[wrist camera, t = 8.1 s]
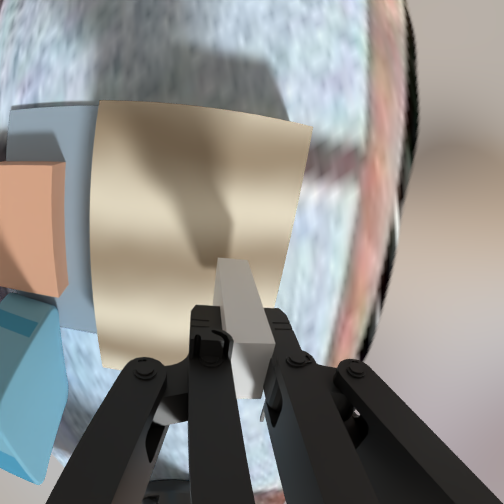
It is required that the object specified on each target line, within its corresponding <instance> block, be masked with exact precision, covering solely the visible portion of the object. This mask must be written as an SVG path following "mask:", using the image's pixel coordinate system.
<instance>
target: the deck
mask: <svg viewBox="0 0 504 504" xmlns="http://www.w3.org/2000/svg"><path fill="white" fill-rule="evenodd" d="M312 130H313V127H312V126H307V125H303V124H299V123H295V122H290V121H285V120H281V119H276V118H271V117H266V116H260V115H255V114H249V113H243V112H237V111H231V110H224V109H217V108H209V107H201V106H193V105H183V104H172V103H160V102H143V101H115V100H100V101H99V107H98V114H97V121H96V129H95V137H94V147H93V158H92V171H91V188H90V259H91V277H92V290H93V301H94V311H95V319H96V327H97V335H98V342H99V348H100V354H101V360H102V365H103V367H104V368H110V369H117V370H123V368H124V366H125V365H126V364H127V363H128V362H129V361H130V360H133V359H135V358H139V357H150V358H154V359H156V360H159V361H160V362H161V363H162V364H163V365H164V366H168V365H173V364H177V363H179V362H181V361H183V360H184V359H185V358H186V357H187V355H188V353H189V334H190V315H191V310H192V309H193V308H194V306H195V305H210V306H213V296H214V287H215V278H216V269H217V260H218V258H230V259H242V260H248V263H249V266H250V269H251V272H252V275H253V278H254V281H255V284H256V287H257V290H258V293H259V296H260V299H261V302H262V305H263V308H274V306H275V302H276V297H277V293H278V289H279V285H280V281H281V276H282V272H283V268H284V263H285V259H286V255H287V250H288V246H289V241H290V237H291V232H292V228H293V223H294V219H295V214H296V209H297V205H298V200H299V195H300V190H301V186H302V181H303V176H304V171H305V166H306V161H307V156H308V151H309V146H310V140H311V135H312Z"/></svg>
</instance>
